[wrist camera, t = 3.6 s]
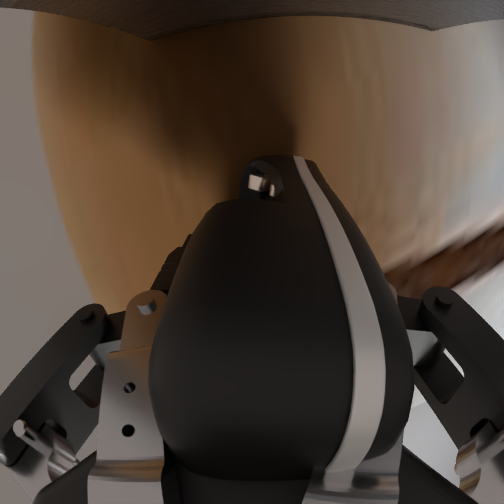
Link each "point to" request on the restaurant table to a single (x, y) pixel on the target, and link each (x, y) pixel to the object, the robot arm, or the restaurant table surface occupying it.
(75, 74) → the restaurant table surface
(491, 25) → the restaurant table surface
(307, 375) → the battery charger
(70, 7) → the box
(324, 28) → the restaurant table surface
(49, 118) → the restaurant table surface
